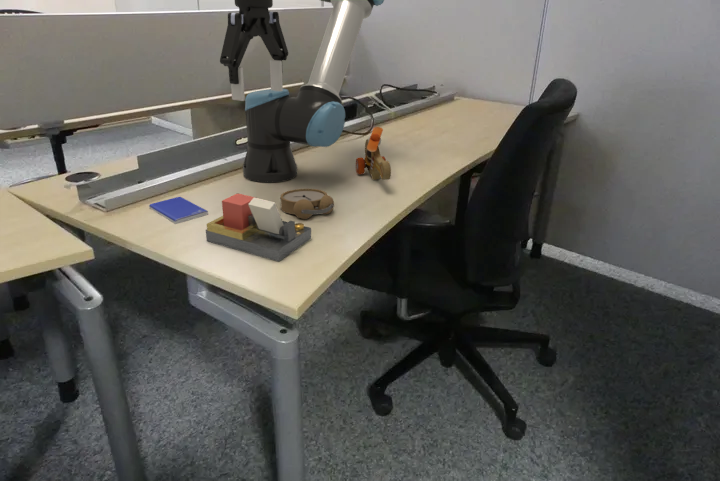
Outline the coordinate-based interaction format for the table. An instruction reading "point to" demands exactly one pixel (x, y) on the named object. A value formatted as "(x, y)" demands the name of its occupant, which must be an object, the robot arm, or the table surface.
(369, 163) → the wheeled toy
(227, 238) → the panel
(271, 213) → the toggle
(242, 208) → the red toy cube
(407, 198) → the table surface
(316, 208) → the alarm clock
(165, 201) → the blue book
